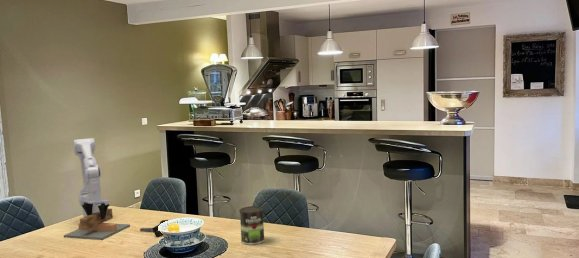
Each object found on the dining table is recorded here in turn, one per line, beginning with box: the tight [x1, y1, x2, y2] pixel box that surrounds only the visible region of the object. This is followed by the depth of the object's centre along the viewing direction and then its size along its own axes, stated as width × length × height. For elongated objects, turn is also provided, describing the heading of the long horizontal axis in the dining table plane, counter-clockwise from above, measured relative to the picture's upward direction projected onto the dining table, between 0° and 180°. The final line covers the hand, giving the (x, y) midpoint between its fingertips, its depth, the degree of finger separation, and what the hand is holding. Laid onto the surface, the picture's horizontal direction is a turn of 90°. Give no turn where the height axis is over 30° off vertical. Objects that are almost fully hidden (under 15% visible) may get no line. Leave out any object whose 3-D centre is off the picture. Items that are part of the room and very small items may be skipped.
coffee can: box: [239, 205, 265, 246], centre depth 193 cm, size 10×10×14 cm
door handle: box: [139, 219, 169, 238], centre depth 216 cm, size 3×20×16 cm
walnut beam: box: [79, 208, 114, 230], centre depth 216 cm, size 18×4×5 cm, turn 163°
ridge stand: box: [63, 222, 131, 241], centre depth 217 cm, size 20×22×4 cm
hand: (96, 218), depth 216 cm, fingers open, 7 cm apart
